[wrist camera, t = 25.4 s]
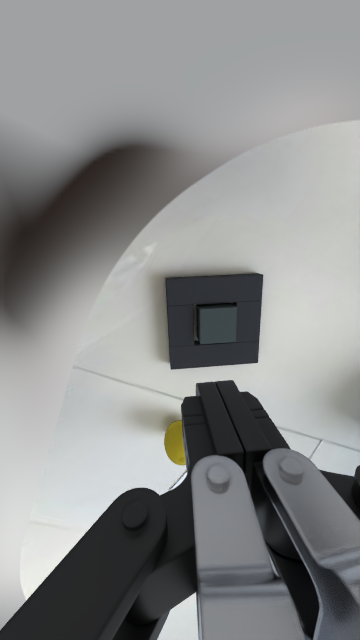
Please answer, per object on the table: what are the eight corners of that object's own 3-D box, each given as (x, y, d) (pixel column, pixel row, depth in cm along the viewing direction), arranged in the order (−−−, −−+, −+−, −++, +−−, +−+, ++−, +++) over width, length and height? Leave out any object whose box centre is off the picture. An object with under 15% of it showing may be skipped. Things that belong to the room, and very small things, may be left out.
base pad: (165, 277, 35) (165, 279, 33) (257, 273, 36) (263, 274, 34) (170, 363, 39) (170, 369, 37) (253, 357, 40) (257, 362, 38)
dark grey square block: (196, 304, 36) (199, 309, 34) (231, 302, 37) (237, 307, 34) (197, 337, 38) (200, 344, 35) (230, 335, 38) (235, 342, 36)
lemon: (200, 421, 43) (210, 459, 35) (180, 441, 44) (184, 482, 36) (178, 405, 41) (182, 440, 34) (157, 426, 42) (157, 465, 35)
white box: (225, 480, 47) (226, 484, 46) (200, 506, 49) (201, 510, 48) (193, 464, 45) (194, 467, 45) (169, 491, 47) (169, 495, 46)
